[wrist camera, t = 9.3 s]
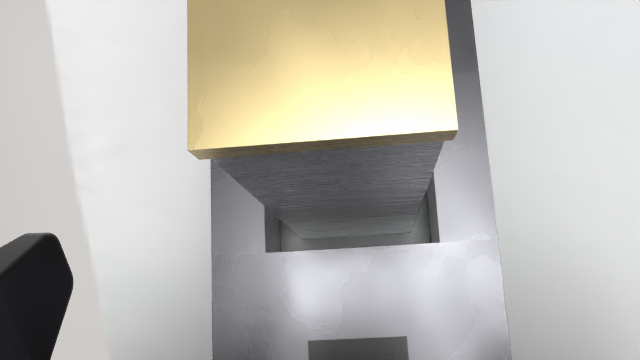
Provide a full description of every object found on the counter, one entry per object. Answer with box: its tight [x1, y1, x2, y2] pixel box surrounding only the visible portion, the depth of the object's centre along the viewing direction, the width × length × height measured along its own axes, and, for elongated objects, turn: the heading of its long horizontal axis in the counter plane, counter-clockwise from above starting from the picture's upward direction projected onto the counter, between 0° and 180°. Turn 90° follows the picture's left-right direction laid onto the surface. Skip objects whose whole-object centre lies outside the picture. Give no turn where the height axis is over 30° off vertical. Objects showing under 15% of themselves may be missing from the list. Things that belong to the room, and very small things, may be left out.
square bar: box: [187, 0, 458, 239], centre depth 16 cm, size 4×4×13 cm
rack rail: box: [211, 0, 511, 360], centre depth 21 cm, size 20×9×3 cm, turn 3°
